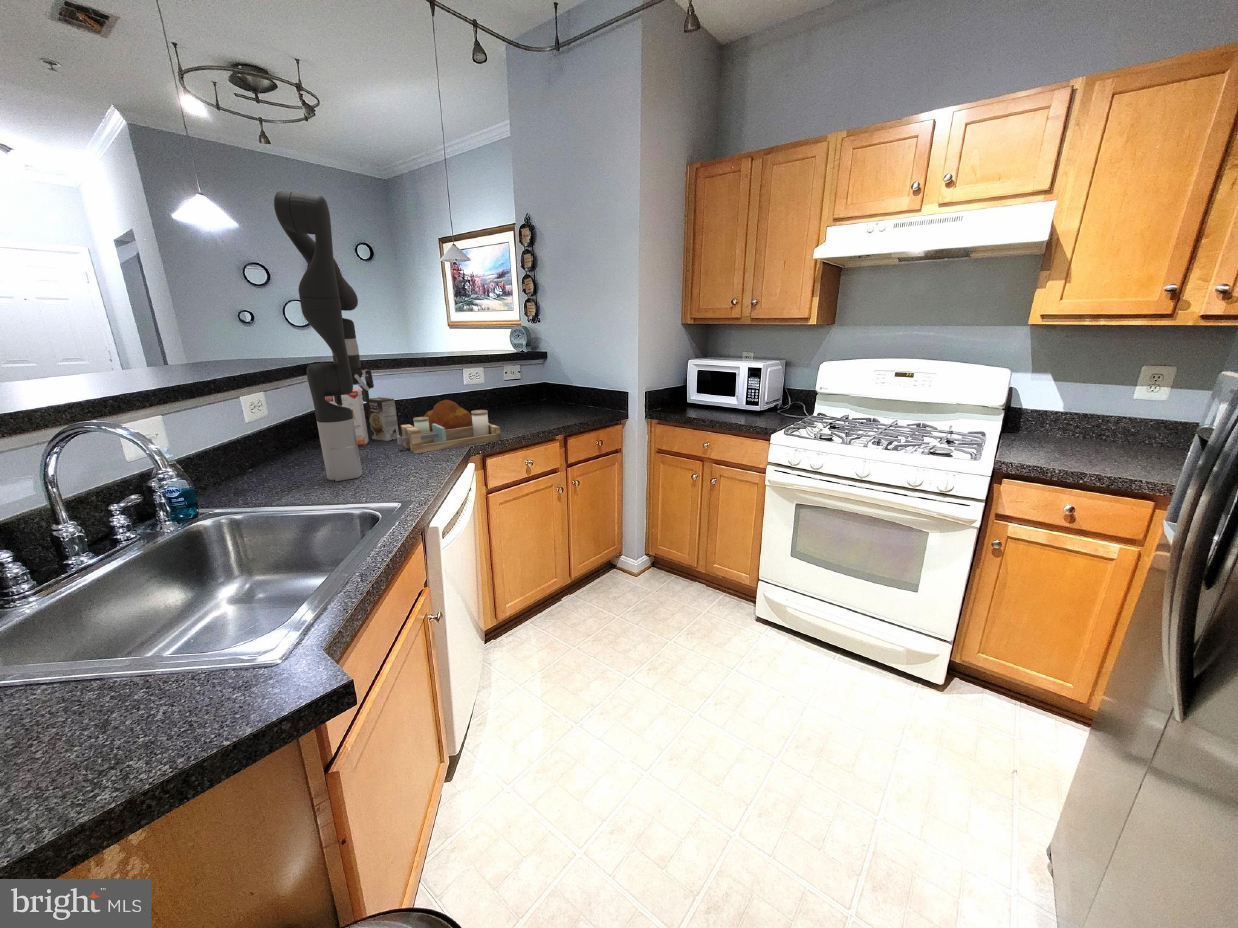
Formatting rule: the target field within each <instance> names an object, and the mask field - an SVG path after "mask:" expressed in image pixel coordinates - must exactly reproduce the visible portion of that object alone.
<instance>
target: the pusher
mask: <svg viewBox="0 0 1238 928" xmlns="http://www.w3.org/2000/svg"><path fill="white" fill-rule="evenodd" d="M432 429H433V433H431V434H424V435H421V439H428V438H434V442H433V443H437V442H443V441H446V433H445V428H444V427H442V426H439V425H437V424H432ZM396 441H397V444H398V446H401V445H403V442H407V441H409V437H402V435H399V436H397V439H396Z"/></svg>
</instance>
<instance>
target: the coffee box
mask: <svg viewBox="0 0 1238 928" xmlns="http://www.w3.org/2000/svg"><path fill="white" fill-rule="evenodd" d="M365 403H366V409H367V414H368V415H367V416H368V421H369V428H370V434H371V439H372V440H377V441H384V442H388V441H389V442H390V441H393V440H397V436H400V433H399V432H400V431H399V426H398V425H399V424H398V416H397V409H396V402H395V398H390V397H371V398H370V397H369V400H368V402H365ZM392 439H393V440H392Z"/></svg>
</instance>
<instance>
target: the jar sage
mask: <svg viewBox="0 0 1238 928" xmlns="http://www.w3.org/2000/svg"><path fill="white" fill-rule="evenodd" d="M412 420H413V426H414V427H415V428H417V429H419V430H421V433H426V432H430V428H429V417H424V416H419V417H417V416H415V417H413V419H412Z"/></svg>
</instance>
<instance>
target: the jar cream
mask: <svg viewBox="0 0 1238 928" xmlns="http://www.w3.org/2000/svg"><path fill="white" fill-rule="evenodd" d="M488 413H489V412H488V410H487V409H475V410H471V412H470V414H471V416H472V426H473V434H474V436H473V437H477V436H483V435H489V425H488V423H489V417H488Z"/></svg>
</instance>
